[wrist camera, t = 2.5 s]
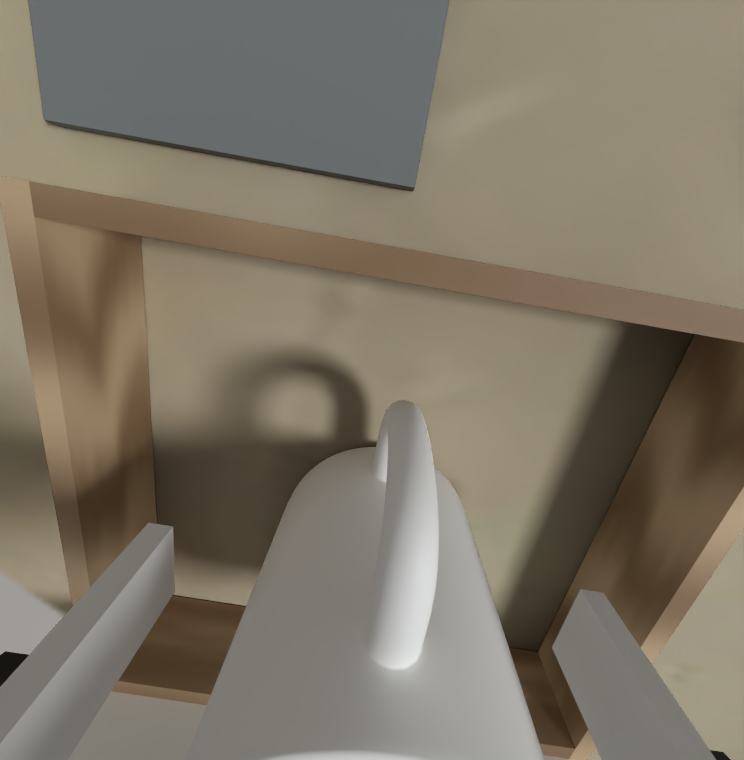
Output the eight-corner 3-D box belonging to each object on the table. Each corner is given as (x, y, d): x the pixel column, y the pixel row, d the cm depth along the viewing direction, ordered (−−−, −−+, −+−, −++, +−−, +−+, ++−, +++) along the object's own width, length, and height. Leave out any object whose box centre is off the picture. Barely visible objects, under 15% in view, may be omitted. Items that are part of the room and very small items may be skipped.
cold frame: (116, 201, 12) (-4, 175, 8) (729, 311, 13) (875, 333, 9) (147, 601, 19) (87, 687, 15) (547, 663, 19) (586, 761, 16)
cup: (285, 570, 18) (168, 934, 8) (299, 346, 14) (104, 546, 4) (443, 590, 18) (511, 975, 8) (503, 374, 14) (769, 633, 4)
